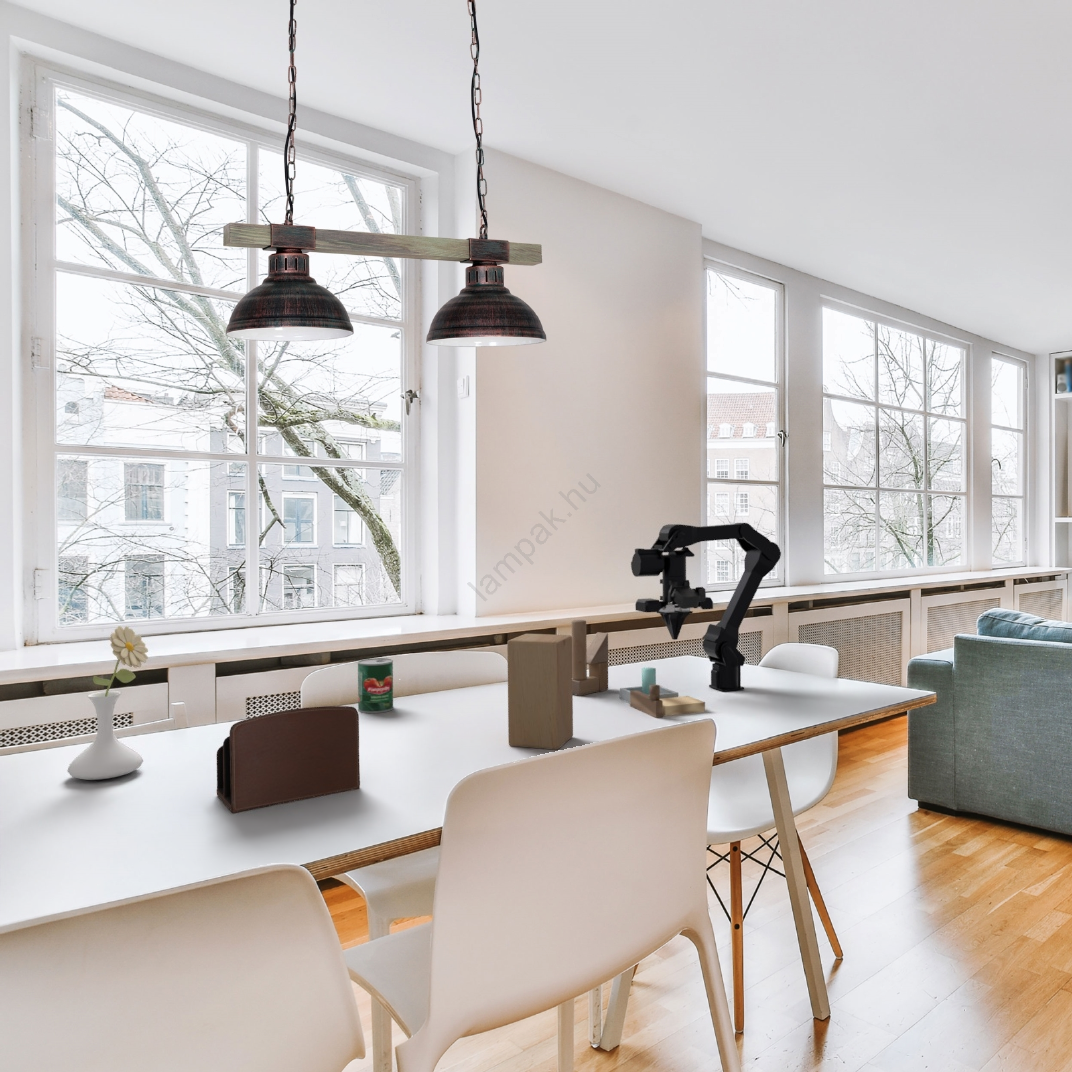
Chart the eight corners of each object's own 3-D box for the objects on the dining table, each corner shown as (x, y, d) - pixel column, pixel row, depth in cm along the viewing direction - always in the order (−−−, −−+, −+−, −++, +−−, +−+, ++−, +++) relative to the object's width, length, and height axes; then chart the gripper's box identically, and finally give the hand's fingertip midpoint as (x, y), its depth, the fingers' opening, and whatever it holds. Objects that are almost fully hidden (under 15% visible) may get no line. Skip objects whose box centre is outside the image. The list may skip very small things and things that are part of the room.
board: (687, 706, 187) (687, 696, 187) (704, 713, 181) (704, 702, 181) (649, 711, 184) (649, 699, 183) (665, 717, 177) (665, 706, 177)
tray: (657, 695, 198) (657, 684, 198) (678, 703, 188) (678, 692, 188) (619, 698, 194) (619, 688, 194) (639, 707, 185) (639, 696, 185)
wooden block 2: (608, 689, 205) (608, 617, 205) (579, 696, 197) (579, 621, 197) (597, 687, 208) (597, 616, 207) (568, 694, 200) (568, 620, 200)
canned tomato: (374, 714, 181) (373, 665, 180) (350, 710, 185) (350, 661, 185) (400, 708, 187) (400, 660, 187) (377, 703, 192) (376, 656, 192)
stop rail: (637, 705, 187) (637, 677, 187) (663, 717, 176) (663, 686, 176) (629, 706, 186) (628, 677, 186) (654, 718, 175) (654, 687, 175)
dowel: (651, 696, 193) (651, 667, 193) (658, 699, 190) (658, 669, 190) (639, 697, 192) (639, 668, 192) (646, 700, 189) (645, 670, 189)
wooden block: (573, 736, 161) (572, 634, 160) (558, 750, 151) (557, 642, 151) (525, 733, 164) (524, 633, 163) (507, 746, 154) (506, 640, 154)
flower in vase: (91, 790, 131) (88, 634, 131) (53, 779, 137) (50, 629, 137) (166, 768, 142) (163, 625, 142) (127, 759, 148) (125, 621, 148)
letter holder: (361, 789, 131) (359, 701, 130) (231, 815, 120) (230, 719, 120) (339, 774, 139) (337, 691, 139) (216, 796, 128) (214, 706, 128)
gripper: (656, 579, 189) (656, 646, 190) (725, 576, 196) (726, 641, 196) (634, 576, 200) (634, 640, 200) (700, 573, 206) (701, 635, 207)
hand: (674, 639), depth 200 cm, fingers closed
